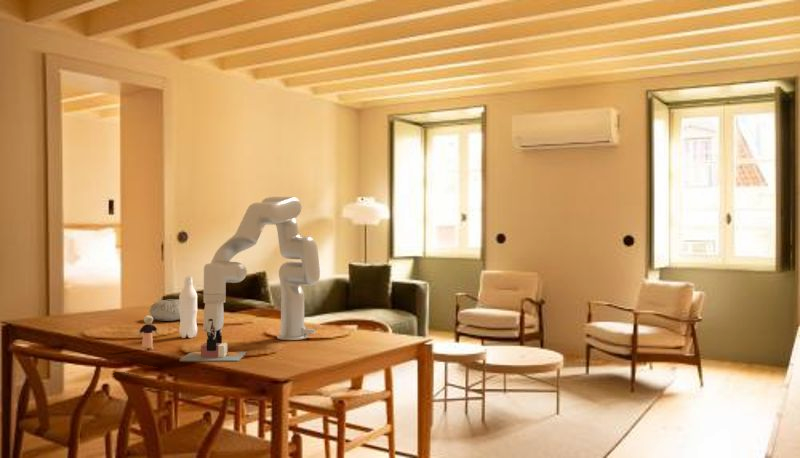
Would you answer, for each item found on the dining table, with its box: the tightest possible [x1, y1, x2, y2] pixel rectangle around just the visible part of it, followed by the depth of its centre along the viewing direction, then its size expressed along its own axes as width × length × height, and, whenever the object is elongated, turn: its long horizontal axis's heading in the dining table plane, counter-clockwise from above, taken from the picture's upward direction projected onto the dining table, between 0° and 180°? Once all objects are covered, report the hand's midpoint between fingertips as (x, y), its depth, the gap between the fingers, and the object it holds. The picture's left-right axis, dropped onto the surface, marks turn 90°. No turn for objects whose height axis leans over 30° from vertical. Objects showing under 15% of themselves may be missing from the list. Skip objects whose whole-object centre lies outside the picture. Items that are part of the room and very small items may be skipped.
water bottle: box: [178, 276, 198, 339], centre depth 266 cm, size 7×7×25 cm
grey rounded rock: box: [149, 298, 180, 322], centre depth 310 cm, size 18×18×10 cm
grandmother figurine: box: [137, 314, 159, 351], centre depth 241 cm, size 8×4×13 cm, turn 148°
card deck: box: [200, 342, 228, 357], centre depth 228 cm, size 5×8×4 cm, turn 91°
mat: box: [179, 351, 247, 363], centre depth 228 cm, size 20×14×1 cm
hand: (214, 348), depth 228 cm, fingers open, 6 cm apart
